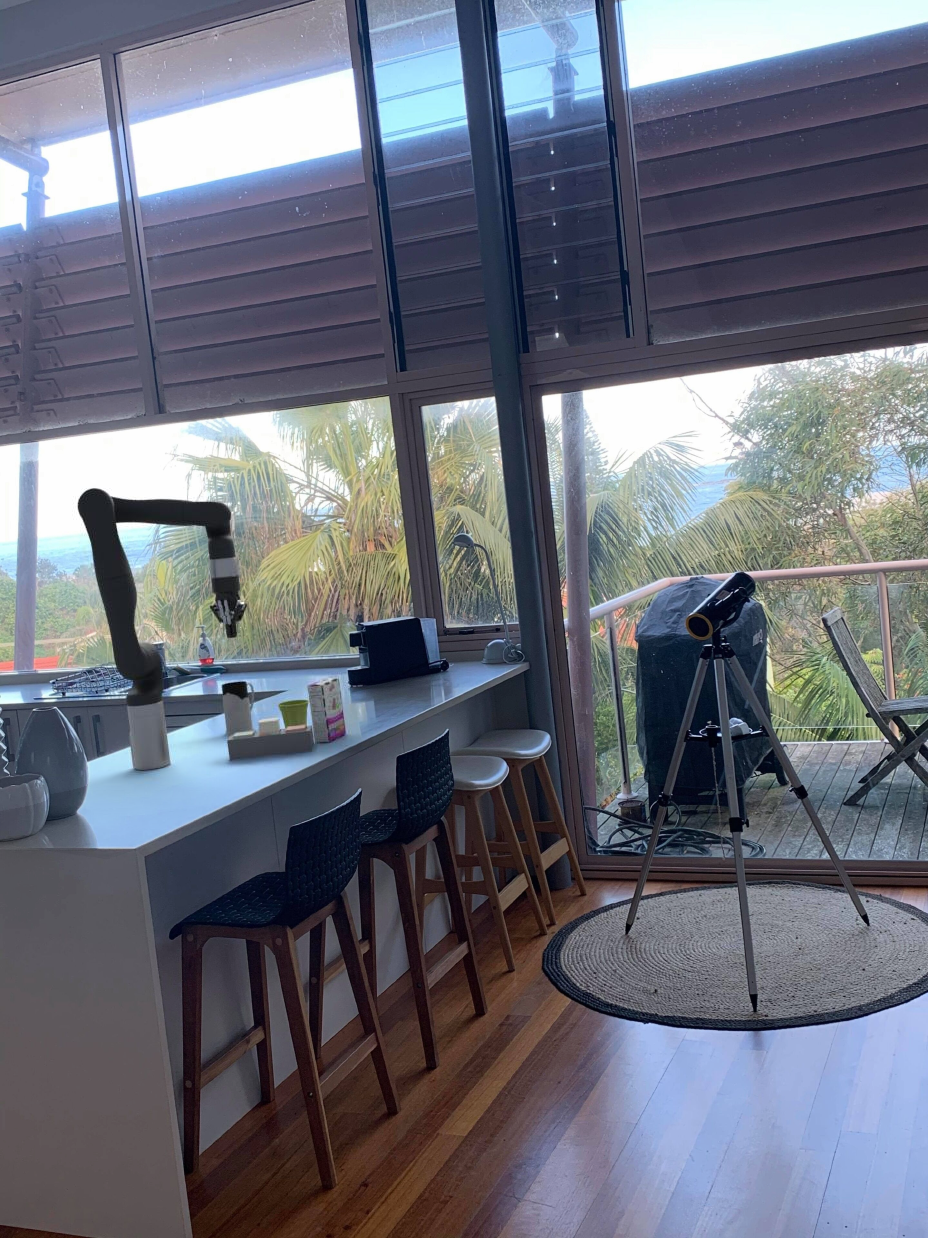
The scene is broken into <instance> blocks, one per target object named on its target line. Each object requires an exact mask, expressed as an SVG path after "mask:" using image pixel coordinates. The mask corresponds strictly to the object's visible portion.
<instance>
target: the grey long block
mask: <svg viewBox="0 0 928 1238" xmlns="http://www.w3.org/2000/svg"><path fill="white" fill-rule="evenodd" d="M286 729H287V728H286ZM286 729H285V728H280V733H278V732H275V733H271V735H267V734H260V733H259V731H254V736H253V737H245V738H236V739H233V736H234V735H229V737H228V739H227V741H226V742H227V750H228V757H229V761H231V762H232V761H238V760H248V759H254V758H256V759H257V758H263V757H272V756H281V755H290V754H297V753H306V752H313V751H314V748H315V738H314V731H313V724H311V725H307V726H306V730H305V731H296V732H288V733H286Z"/></svg>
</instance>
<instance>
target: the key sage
mask: <svg viewBox="0 0 928 1238" xmlns="http://www.w3.org/2000/svg"><path fill="white" fill-rule="evenodd" d="M254 732H255V730H254V731H248V732H240V733H235V734H234V736H233V739H236V738H245V737H253V736H254Z"/></svg>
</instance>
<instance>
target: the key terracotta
mask: <svg viewBox="0 0 928 1238" xmlns="http://www.w3.org/2000/svg"><path fill="white" fill-rule="evenodd" d="M305 730H306V725H299V726H290V727H287V729H286V733H288V732H296V731H305Z"/></svg>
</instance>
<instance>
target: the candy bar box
mask: <svg viewBox="0 0 928 1238" xmlns="http://www.w3.org/2000/svg"><path fill="white" fill-rule="evenodd" d="M307 692H308V699H309V709H310V714H311V715H310V716H311V720H312V721H311V723H312V731H313V739H314V744H324V743H325V744H326V743H332V742H334V741H335V740H337V739H339V738H341V737H343V736H345V735H346V734H347V730H346V722H345V717H344V716H345V715H344V709H343V707H344V706H343V700H342V692H341V686H340V678H339V677H329V678H328V677H326V678H322V679H321V680H317V681H315V682H313V683H312V684H309V685H307Z"/></svg>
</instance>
